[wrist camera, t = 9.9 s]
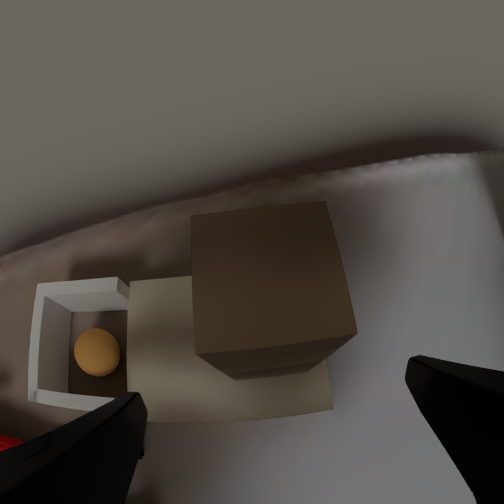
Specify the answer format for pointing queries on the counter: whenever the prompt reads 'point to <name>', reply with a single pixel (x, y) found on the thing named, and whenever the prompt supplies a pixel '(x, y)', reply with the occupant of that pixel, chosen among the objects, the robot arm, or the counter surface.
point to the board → (202, 367)
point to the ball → (97, 352)
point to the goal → (65, 336)
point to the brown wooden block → (268, 290)
